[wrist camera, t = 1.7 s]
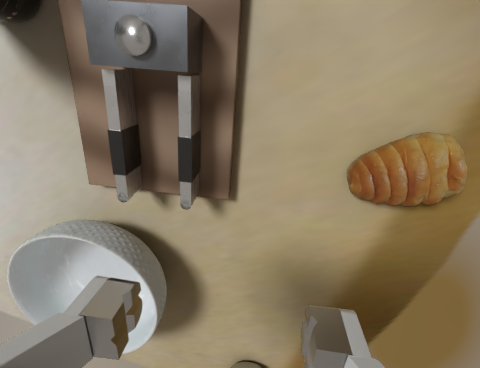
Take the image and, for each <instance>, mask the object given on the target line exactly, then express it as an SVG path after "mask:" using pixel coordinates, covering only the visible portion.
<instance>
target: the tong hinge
mask: <svg viewBox="0 0 480 368" xmlns="http://www.w3.org/2000/svg"><path fill="white" fill-rule="evenodd" d="M81 4H82V11H83V18H84V25H85V32H86V39H87V46H88V53H89V60H90V65H102V66H115V67H127V68H140V69H152V70H165V71H177V72H202V53H203V17H202V16H200V15H199V14H198V13H196V12H195V11H194V10H192V9H191V8H190V7H188V6H187V5H172V4H156V3H141V2H125V1H109V0H81Z"/></svg>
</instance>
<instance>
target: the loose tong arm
mask: <svg viewBox="0 0 480 368" xmlns="http://www.w3.org/2000/svg"><path fill="white" fill-rule="evenodd" d="M178 110H179V136H178V137H177V138H178V181H179V182H180V205H181V207H182V208H183V209H190V207H191V206H192V204H193V202H194V200H195V199H196V197H197V195H198V193H199V172H200V168H201V130H200V75H189V74H188V75H178Z"/></svg>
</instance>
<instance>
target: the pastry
mask: <svg viewBox="0 0 480 368" xmlns="http://www.w3.org/2000/svg"><path fill="white" fill-rule="evenodd" d="M467 170H468V169H467V165H466V162H465V155H464V152H463V150H462V147H461V146H460V144H459V143H458V142H457V140H456V139H455V137H453V136H451V135H446V134H435V133H429V132H426V133H420V134H415V135H410V136H407V137H405V138H402V139H399V140H396V141H394V142H390V143H388V144H386V145H383V146H381V147H379V148H377V149H374V150H372V151H370V152H368V153H365V154H363V155H361V156H360V157H359V158H358V159H357V160H355V161H354V162H353V163H352V164H351V165H350V166H349V168H348V170H347V181H348V184H349V189H350V191H351V192H352V193H353V194H354V195H356V196H357V197H358V198H360V199H366V200H370V201H373V202H374V203H377V204H378V203H386V204H389V205H393V206H395V205H402V206H415V205H418V204H420V203H423V204H425V205H432V204H436V203H438V202H440V201H441V199H442V198H447V197H449V196H452V195H454V194H458V193H460V192H461V191H462V190H463V188H464V185H465V182H466V177H467Z"/></svg>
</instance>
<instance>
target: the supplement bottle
mask: <svg viewBox="0 0 480 368" xmlns="http://www.w3.org/2000/svg"><path fill="white" fill-rule="evenodd" d="M39 4H40V0H0V22H4V23H21V22H24V21H27V20H28V19H30V18H31V17H32V16H33V15H34V14H35V13H36V11H37V9H38V7H39Z"/></svg>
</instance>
